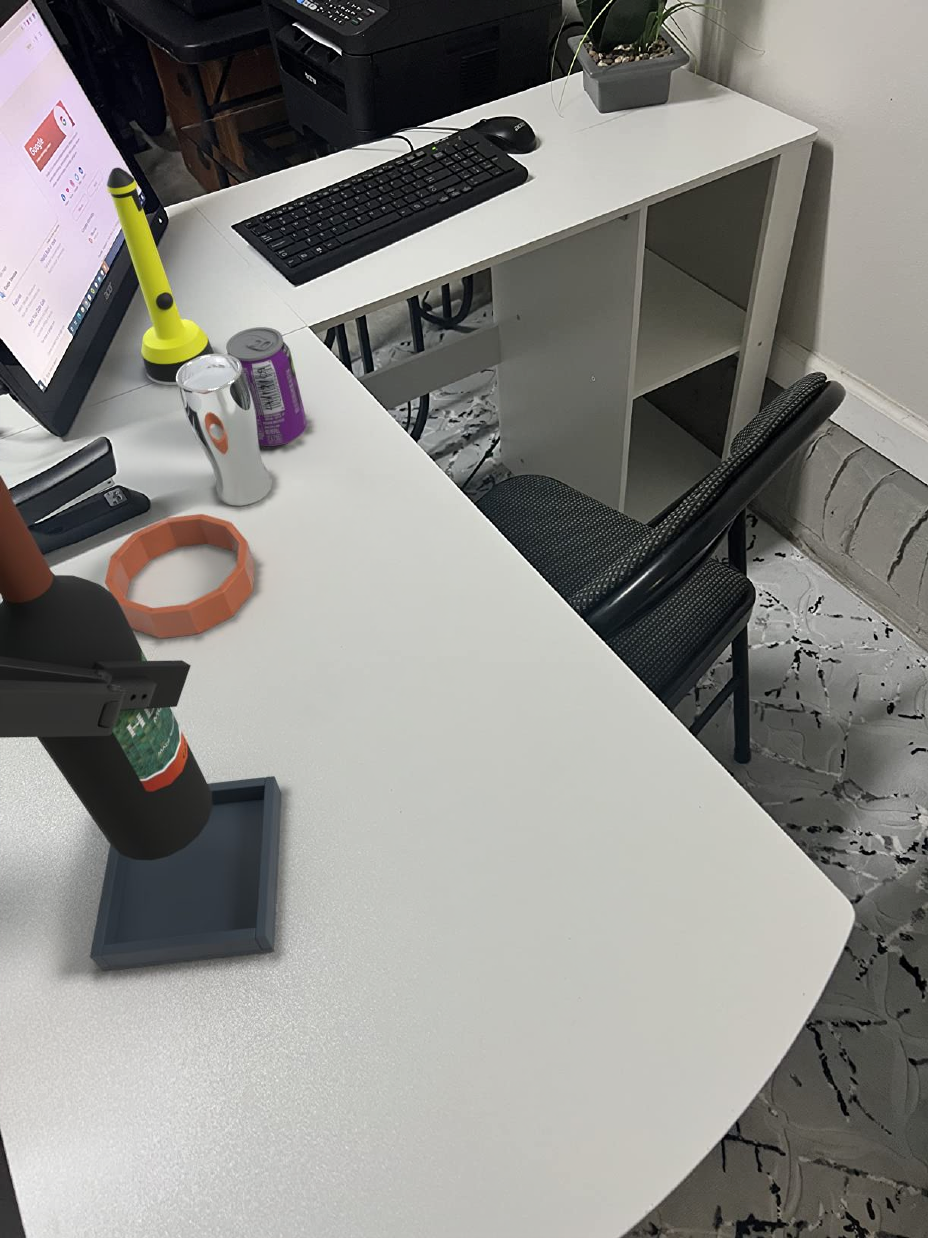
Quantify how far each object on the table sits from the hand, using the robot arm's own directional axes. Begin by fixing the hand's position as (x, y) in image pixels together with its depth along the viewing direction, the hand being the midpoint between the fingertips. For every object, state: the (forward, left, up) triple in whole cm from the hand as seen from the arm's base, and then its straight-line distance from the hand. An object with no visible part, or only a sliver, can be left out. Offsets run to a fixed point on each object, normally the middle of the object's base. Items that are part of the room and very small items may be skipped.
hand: (132, 655), depth 60 cm
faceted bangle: (-21, +23, -23) cm, 38 cm away
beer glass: (-24, +38, -23) cm, 50 cm away
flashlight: (-46, +56, -23) cm, 76 cm away
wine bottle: (-1, -3, -14) cm, 14 cm away
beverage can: (-26, +48, -23) cm, 59 cm away
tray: (-1, -3, -23) cm, 23 cm away
